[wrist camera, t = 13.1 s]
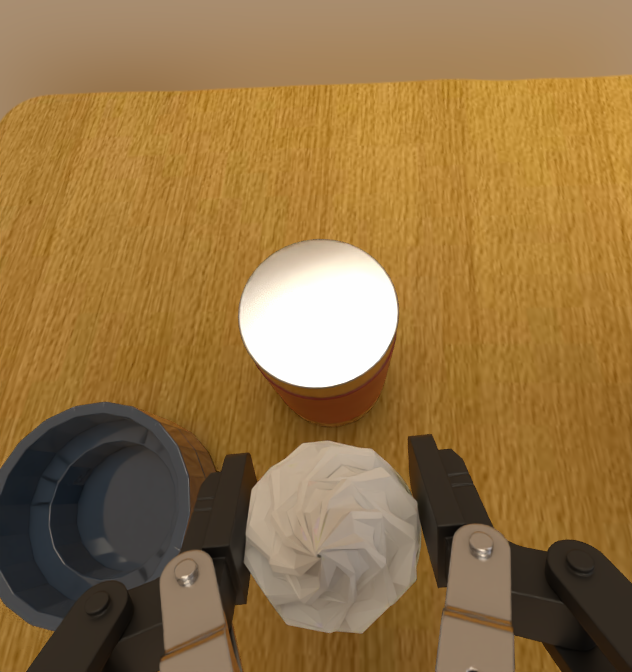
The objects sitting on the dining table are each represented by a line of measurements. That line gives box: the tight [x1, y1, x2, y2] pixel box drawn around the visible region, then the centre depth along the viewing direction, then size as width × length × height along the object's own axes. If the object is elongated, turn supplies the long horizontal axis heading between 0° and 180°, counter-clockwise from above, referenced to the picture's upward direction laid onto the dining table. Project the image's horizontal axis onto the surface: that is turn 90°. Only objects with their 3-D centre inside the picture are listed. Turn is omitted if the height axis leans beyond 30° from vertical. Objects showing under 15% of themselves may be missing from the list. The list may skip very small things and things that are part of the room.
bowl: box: [0, 402, 216, 631], centre depth 24 cm, size 10×10×6 cm
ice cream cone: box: [244, 441, 421, 634], centre depth 14 cm, size 5×5×15 cm
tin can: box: [238, 239, 399, 427], centre depth 24 cm, size 7×7×11 cm
